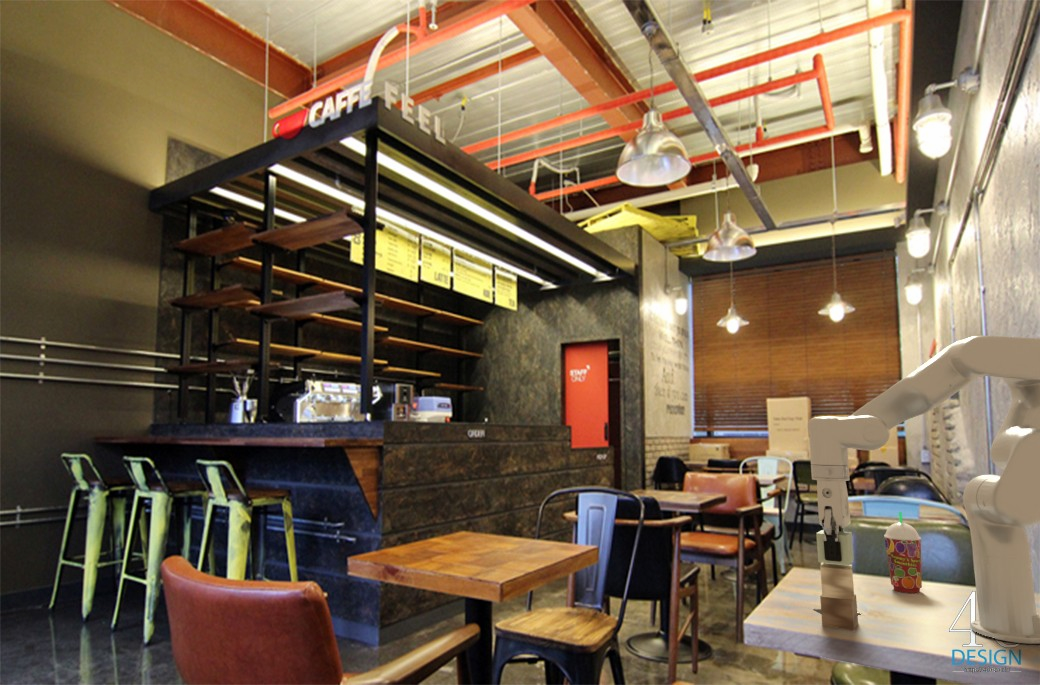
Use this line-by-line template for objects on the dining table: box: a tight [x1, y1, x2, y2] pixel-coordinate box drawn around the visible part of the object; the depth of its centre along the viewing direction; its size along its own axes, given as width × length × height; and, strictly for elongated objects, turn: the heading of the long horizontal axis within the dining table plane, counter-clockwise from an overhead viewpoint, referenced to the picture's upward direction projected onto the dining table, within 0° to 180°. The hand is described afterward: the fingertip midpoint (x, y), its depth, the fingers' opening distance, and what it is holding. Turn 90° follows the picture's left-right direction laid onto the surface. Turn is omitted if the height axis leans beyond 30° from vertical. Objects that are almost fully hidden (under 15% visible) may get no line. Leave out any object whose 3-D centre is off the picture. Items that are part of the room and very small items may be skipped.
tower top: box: [819, 562, 855, 600], centre depth 136 cm, size 6×6×6 cm
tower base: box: [819, 593, 859, 631], centre depth 135 cm, size 6×6×6 cm
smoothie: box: [883, 511, 923, 594], centre depth 166 cm, size 8×8×20 cm
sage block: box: [815, 529, 855, 565], centre depth 137 cm, size 6×6×6 cm
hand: (836, 557), depth 137 cm, fingers closed on sage block, 6 cm apart
